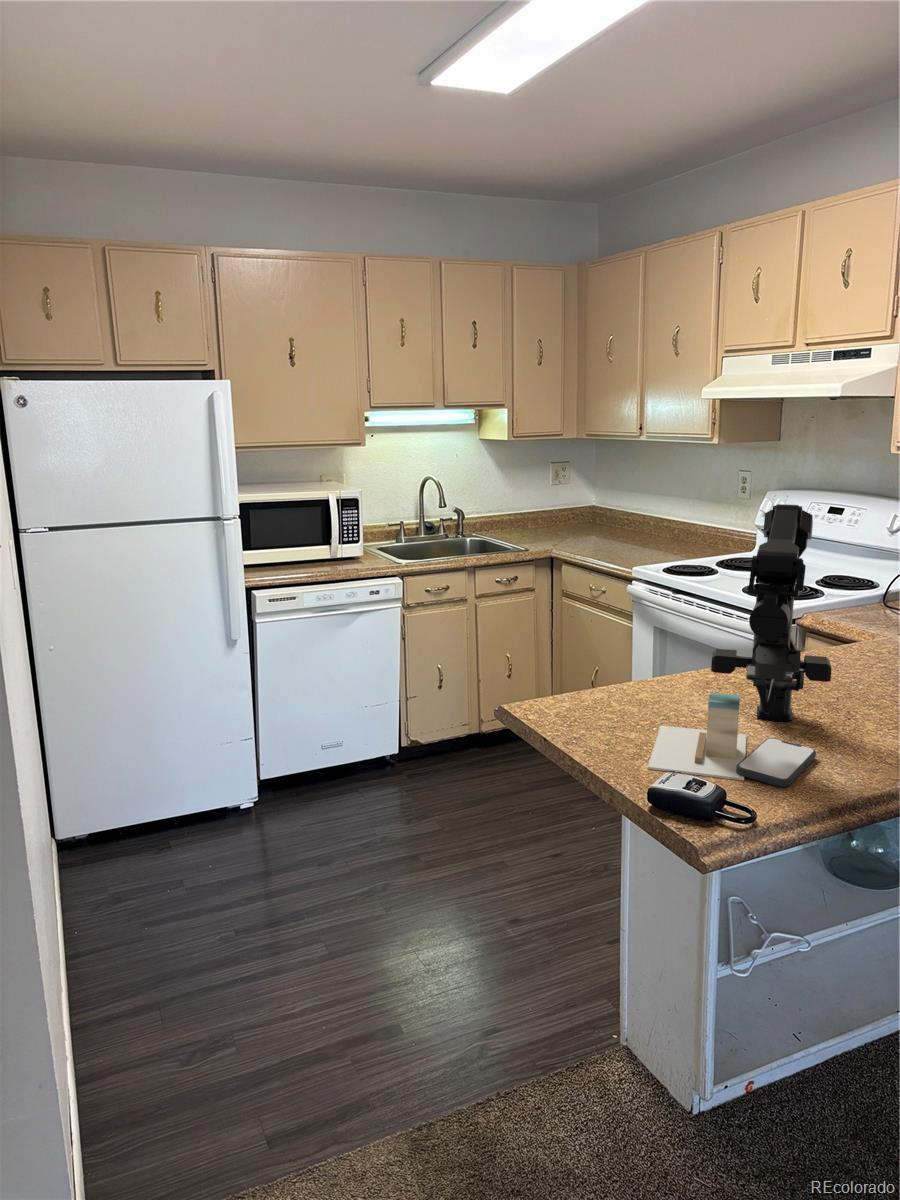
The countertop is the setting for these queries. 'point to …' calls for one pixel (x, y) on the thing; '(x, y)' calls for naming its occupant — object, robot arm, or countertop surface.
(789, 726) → the countertop surface
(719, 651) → the robot arm
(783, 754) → the phone case
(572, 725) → the countertop surface
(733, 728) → the birch block
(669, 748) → the grey mat
